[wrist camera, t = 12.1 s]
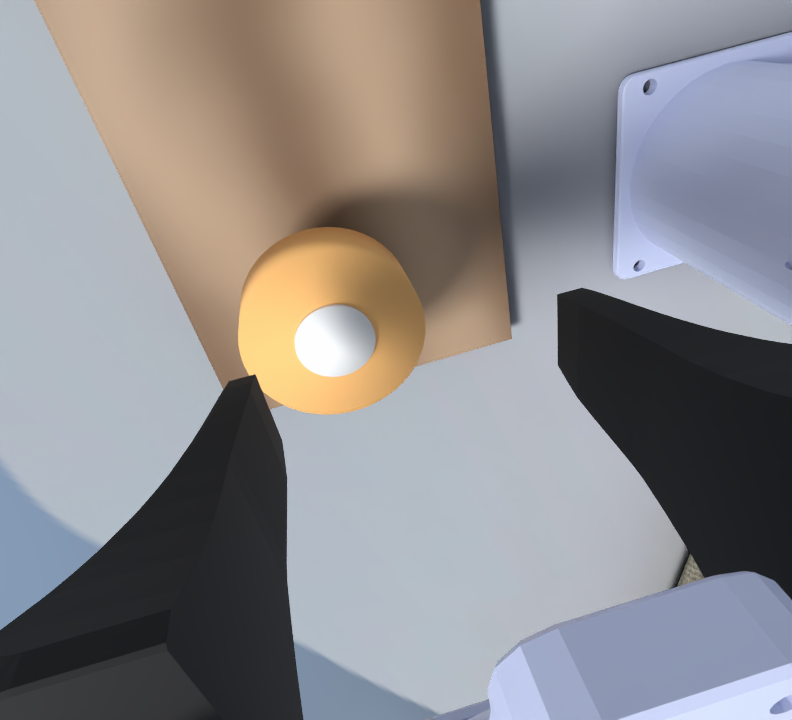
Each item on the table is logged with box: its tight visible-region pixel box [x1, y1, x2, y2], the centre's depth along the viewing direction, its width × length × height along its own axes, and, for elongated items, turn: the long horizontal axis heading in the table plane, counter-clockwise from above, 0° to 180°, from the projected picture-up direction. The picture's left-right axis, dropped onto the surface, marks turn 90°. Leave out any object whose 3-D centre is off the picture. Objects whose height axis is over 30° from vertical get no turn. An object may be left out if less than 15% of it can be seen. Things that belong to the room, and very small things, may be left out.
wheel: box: [238, 227, 426, 414], centre depth 18 cm, size 6×6×5 cm
